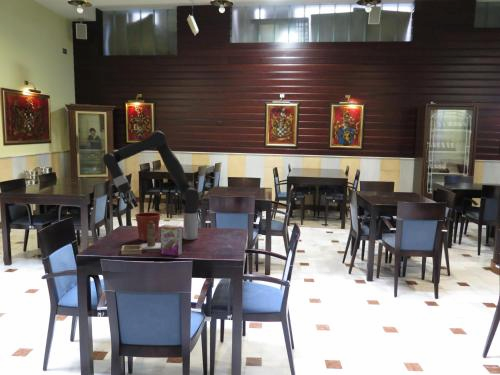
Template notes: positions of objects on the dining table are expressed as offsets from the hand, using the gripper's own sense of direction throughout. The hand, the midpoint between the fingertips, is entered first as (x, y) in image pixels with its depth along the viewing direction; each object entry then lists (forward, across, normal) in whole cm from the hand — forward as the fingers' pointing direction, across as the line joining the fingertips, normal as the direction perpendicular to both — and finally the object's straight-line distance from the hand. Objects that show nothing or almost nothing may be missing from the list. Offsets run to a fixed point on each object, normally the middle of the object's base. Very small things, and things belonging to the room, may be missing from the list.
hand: (134, 207), depth 256 cm
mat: (+26, -2, +1) cm, 26 cm away
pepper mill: (+25, -2, +1) cm, 25 cm away
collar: (+22, -15, +8) cm, 28 cm away
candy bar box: (+33, -17, -14) cm, 39 cm away
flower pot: (+22, +17, +8) cm, 29 cm away
